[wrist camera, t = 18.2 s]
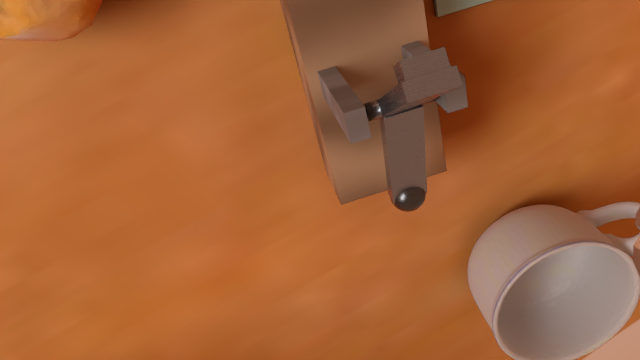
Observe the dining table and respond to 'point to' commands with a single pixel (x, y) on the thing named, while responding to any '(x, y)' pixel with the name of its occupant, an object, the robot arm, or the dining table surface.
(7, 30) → the fruit
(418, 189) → the lever
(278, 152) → the dining table surface
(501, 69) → the dining table surface
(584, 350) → the teacup
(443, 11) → the mat
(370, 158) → the brown lever base
